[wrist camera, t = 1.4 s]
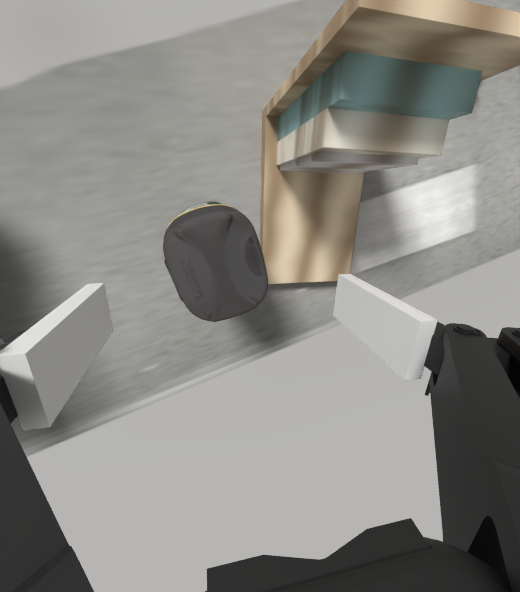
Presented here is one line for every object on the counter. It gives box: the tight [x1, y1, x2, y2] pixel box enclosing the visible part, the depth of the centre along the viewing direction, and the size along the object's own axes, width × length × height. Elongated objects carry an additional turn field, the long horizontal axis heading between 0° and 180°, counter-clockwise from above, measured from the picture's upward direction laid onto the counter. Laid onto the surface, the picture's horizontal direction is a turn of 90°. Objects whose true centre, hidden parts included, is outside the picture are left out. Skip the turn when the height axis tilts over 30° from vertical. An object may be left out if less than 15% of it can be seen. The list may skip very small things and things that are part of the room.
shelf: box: [260, 0, 520, 284], centre depth 28 cm, size 14×22×22 cm, turn 179°
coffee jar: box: [163, 202, 268, 322], centre depth 28 cm, size 10×8×19 cm
